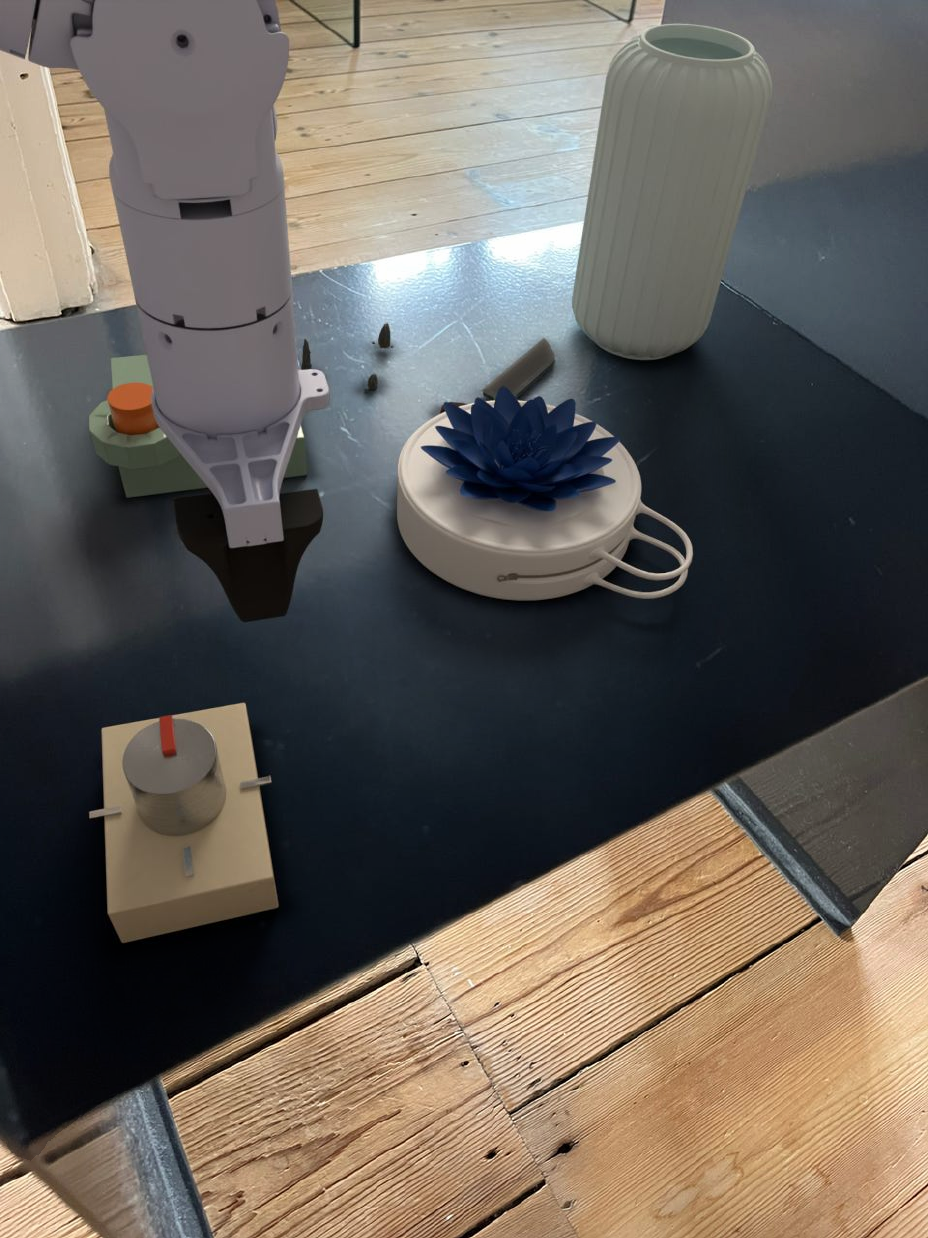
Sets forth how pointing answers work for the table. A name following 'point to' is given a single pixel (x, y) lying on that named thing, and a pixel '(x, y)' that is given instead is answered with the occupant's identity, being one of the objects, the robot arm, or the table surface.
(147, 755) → the dial
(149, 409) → the push button
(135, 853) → the beige rotary knob box
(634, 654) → the table surface
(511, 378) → the knife
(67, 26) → the robot arm
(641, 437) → the table surface
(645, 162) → the vase
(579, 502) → the round zippered pouch
